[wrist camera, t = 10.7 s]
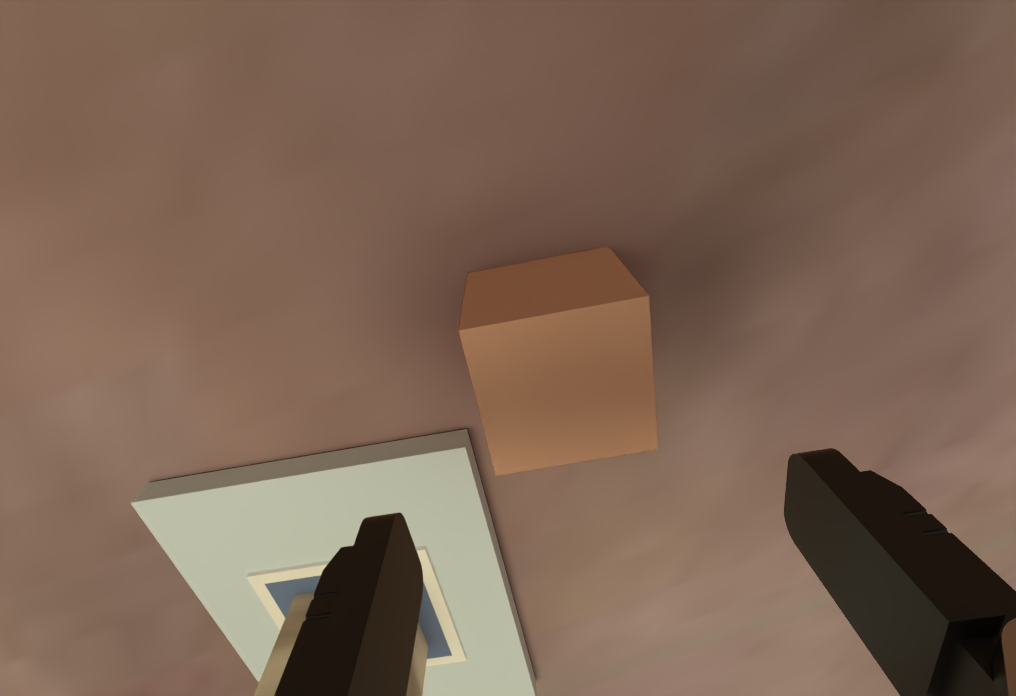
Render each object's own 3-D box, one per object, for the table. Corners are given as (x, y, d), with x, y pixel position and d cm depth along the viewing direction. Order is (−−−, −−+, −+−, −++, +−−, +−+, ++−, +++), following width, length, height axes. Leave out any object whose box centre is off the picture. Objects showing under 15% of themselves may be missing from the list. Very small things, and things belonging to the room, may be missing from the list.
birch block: (294, 595, 22) (244, 718, 18) (400, 579, 22) (376, 700, 17) (331, 659, 24) (295, 783, 20) (428, 646, 24) (413, 769, 20)
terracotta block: (467, 272, 17) (458, 330, 13) (608, 245, 17) (649, 295, 12) (495, 390, 19) (495, 475, 15) (619, 369, 19) (658, 449, 15)
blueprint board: (149, 482, 21) (126, 506, 20) (466, 428, 20) (464, 450, 19) (303, 711, 29) (294, 738, 28) (535, 679, 28) (537, 706, 27)
